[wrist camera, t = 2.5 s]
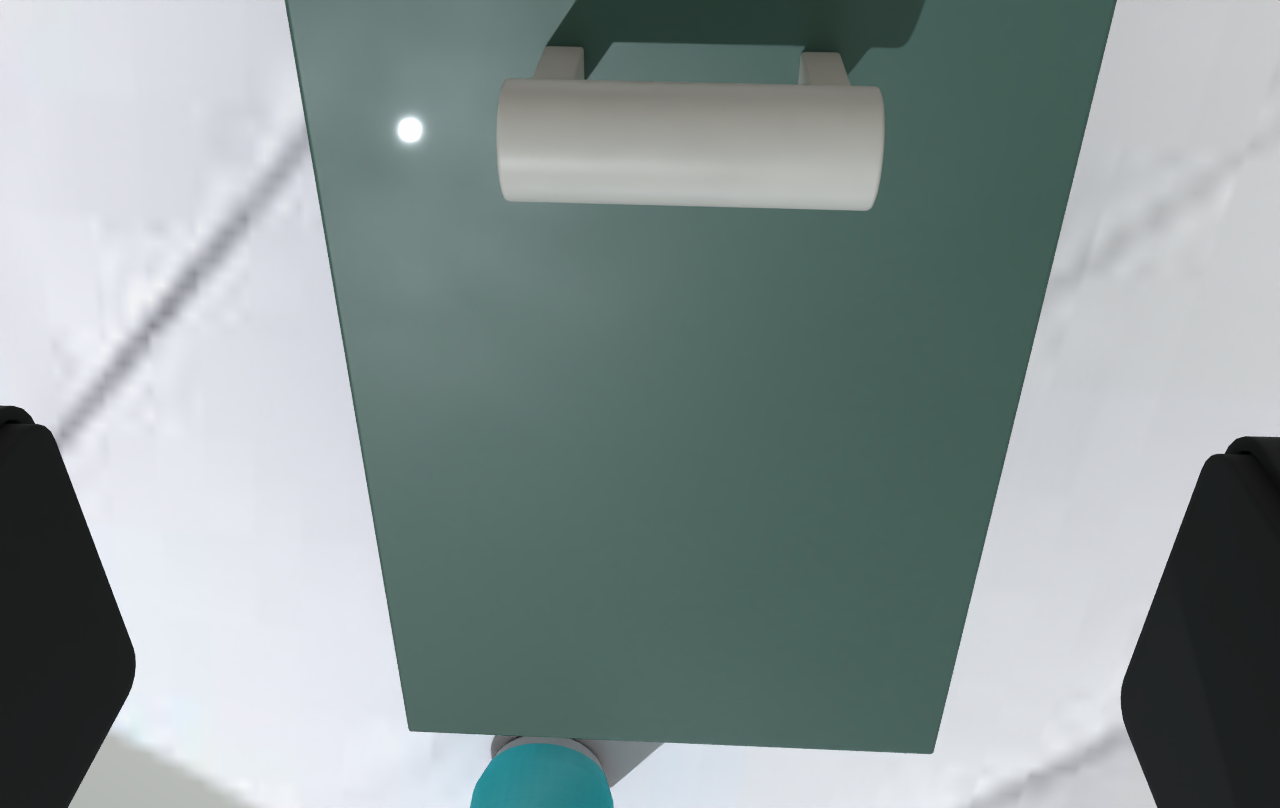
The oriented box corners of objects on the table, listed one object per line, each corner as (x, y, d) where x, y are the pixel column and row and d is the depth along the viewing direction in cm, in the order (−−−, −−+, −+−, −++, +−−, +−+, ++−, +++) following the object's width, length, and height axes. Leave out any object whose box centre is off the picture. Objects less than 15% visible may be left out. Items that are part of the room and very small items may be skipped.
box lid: (285, -81, 19) (158, -2, 15) (1117, -67, 19) (1248, 20, 14) (414, 709, 31) (364, 888, 26) (928, 731, 30) (967, 917, 26)
